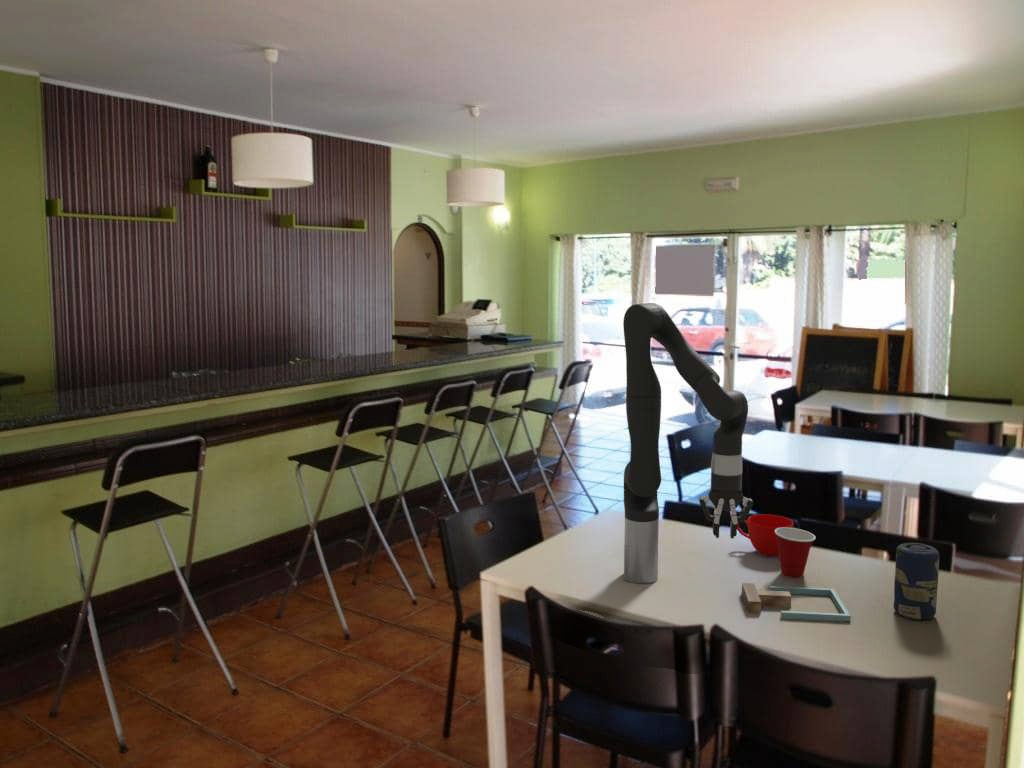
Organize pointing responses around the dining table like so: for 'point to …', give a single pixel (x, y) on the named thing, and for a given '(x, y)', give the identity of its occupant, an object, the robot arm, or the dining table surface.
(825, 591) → the dock
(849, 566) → the dining table surface
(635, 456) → the robot arm
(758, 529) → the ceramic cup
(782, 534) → the plastic cup
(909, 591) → the canister
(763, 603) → the t block
